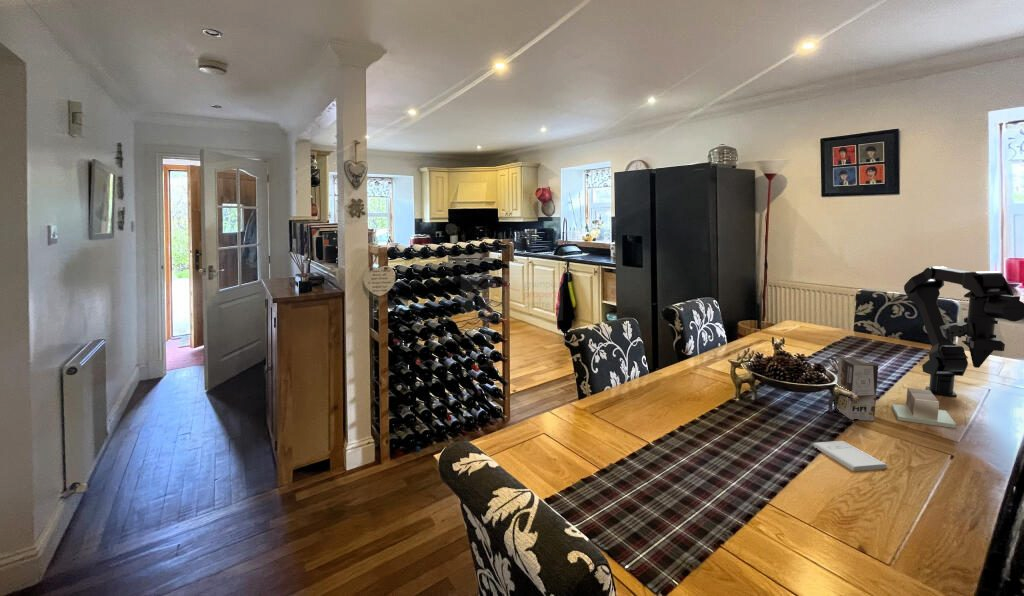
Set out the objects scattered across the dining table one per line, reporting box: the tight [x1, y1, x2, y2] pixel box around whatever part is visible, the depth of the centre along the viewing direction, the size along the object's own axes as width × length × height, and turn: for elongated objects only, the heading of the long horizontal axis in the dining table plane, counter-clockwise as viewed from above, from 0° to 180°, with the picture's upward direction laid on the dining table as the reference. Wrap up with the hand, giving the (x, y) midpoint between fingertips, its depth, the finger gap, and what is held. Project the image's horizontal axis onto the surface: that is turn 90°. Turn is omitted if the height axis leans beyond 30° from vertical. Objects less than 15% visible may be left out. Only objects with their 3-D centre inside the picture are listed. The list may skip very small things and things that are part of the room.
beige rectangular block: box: [905, 387, 940, 420], centre depth 133 cm, size 5×5×11 cm
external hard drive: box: [812, 440, 888, 472], centre depth 111 cm, size 2×8×12 cm
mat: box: [891, 403, 957, 429], centre depth 132 cm, size 11×12×1 cm
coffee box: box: [836, 356, 880, 422], centre depth 135 cm, size 9×6×16 cm
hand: (976, 367), depth 137 cm, fingers closed
